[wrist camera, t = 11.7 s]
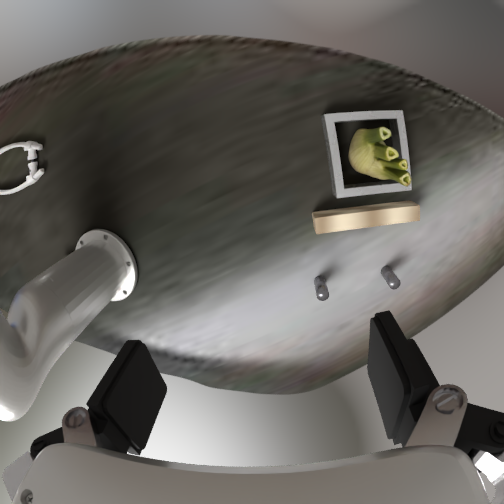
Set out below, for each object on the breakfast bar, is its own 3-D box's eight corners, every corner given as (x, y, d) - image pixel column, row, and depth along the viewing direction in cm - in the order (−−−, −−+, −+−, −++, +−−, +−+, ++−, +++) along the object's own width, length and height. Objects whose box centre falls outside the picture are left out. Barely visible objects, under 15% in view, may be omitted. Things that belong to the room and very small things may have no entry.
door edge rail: (313, 227, 36) (316, 234, 33) (312, 212, 35) (314, 218, 33) (410, 214, 34) (419, 220, 31) (410, 200, 33) (419, 205, 30)
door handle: (51, 184, 38) (-10, 198, 41) (47, 130, 34) (-14, 156, 37) (41, 188, 36) (-18, 201, 38) (37, 131, 32) (-22, 158, 34)
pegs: (314, 286, 39) (317, 301, 36) (313, 276, 39) (316, 290, 35) (390, 275, 37) (400, 288, 34) (391, 265, 37) (400, 277, 33)
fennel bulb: (344, 130, 31) (373, 124, 20) (380, 131, 30) (422, 128, 19) (346, 175, 33) (375, 190, 22) (381, 175, 32) (423, 191, 21)
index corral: (332, 194, 34) (336, 198, 32) (320, 116, 31) (324, 114, 28) (403, 186, 33) (411, 190, 30) (394, 112, 29) (402, 110, 26)
